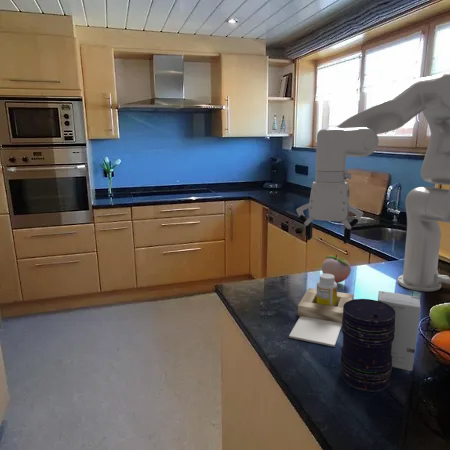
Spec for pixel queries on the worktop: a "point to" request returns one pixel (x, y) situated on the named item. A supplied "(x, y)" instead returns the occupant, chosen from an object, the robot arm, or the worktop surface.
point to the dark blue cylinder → (367, 344)
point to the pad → (316, 331)
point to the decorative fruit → (336, 268)
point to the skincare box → (403, 327)
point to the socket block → (322, 307)
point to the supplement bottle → (327, 290)
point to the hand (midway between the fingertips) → (327, 240)
